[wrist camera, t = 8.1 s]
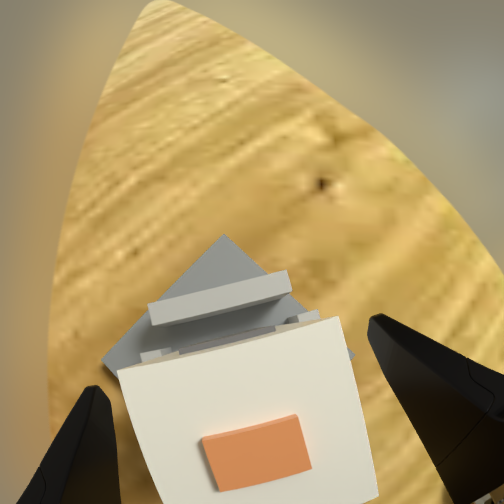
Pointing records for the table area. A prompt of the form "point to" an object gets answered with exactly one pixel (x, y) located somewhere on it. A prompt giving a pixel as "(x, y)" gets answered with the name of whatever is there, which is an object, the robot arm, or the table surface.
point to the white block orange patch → (254, 419)
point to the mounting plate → (195, 281)
